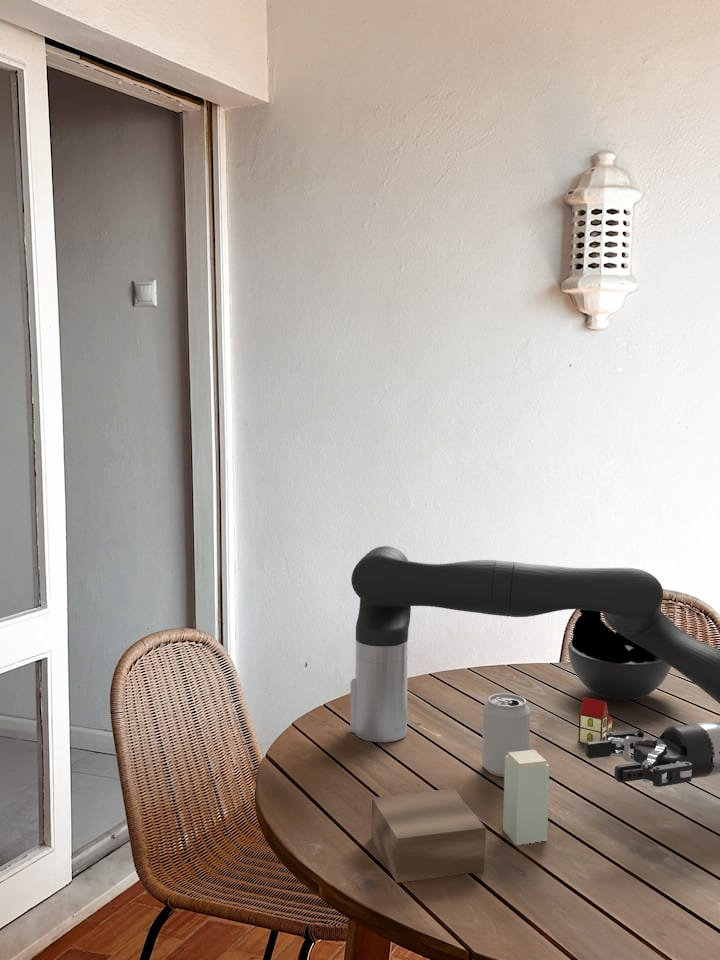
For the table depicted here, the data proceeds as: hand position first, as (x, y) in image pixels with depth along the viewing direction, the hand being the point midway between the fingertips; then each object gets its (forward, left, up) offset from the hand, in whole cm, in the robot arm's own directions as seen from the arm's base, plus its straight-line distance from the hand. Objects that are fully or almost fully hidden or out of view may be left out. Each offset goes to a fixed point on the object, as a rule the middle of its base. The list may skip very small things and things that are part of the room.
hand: (600, 762), depth 140 cm
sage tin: (-7, -9, -10) cm, 15 cm away
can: (-20, +9, -10) cm, 24 cm away
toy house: (-16, +32, -10) cm, 37 cm away
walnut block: (-15, -22, -10) cm, 28 cm away
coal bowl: (-19, +53, -10) cm, 58 cm away
